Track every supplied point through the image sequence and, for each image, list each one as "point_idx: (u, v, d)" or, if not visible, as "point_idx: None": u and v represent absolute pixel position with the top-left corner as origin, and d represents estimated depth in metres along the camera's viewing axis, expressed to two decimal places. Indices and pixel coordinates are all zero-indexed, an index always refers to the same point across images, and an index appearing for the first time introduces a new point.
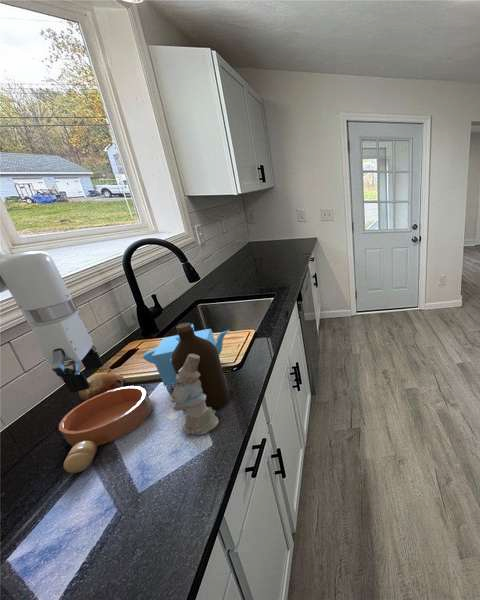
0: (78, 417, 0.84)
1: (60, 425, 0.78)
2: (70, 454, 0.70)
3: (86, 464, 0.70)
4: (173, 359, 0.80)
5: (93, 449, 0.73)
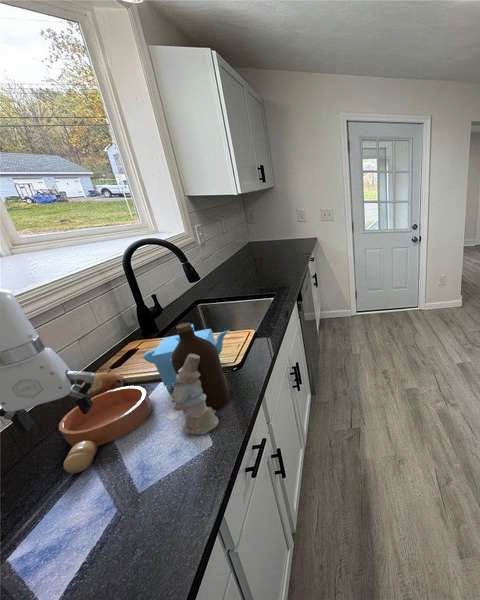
0: (78, 417, 0.84)
1: (60, 425, 0.78)
2: (70, 454, 0.70)
3: (86, 464, 0.70)
4: (173, 359, 0.80)
5: (93, 449, 0.73)
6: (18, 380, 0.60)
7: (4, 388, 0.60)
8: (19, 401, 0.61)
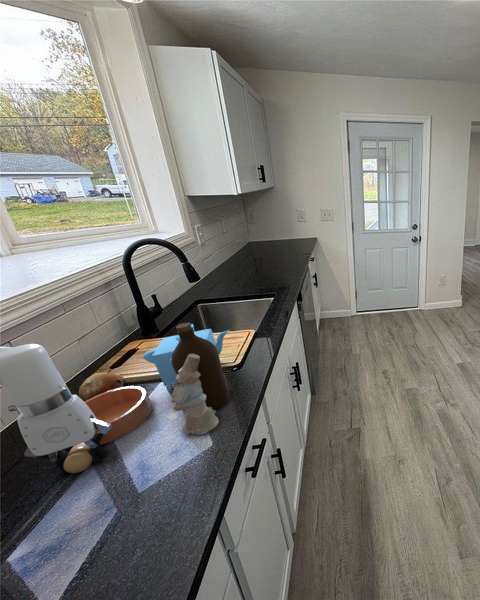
0: None
1: None
2: (70, 454, 0.70)
3: (86, 464, 0.70)
4: (173, 359, 0.80)
5: None
6: (48, 427, 0.65)
7: (35, 435, 0.64)
8: (48, 446, 0.66)
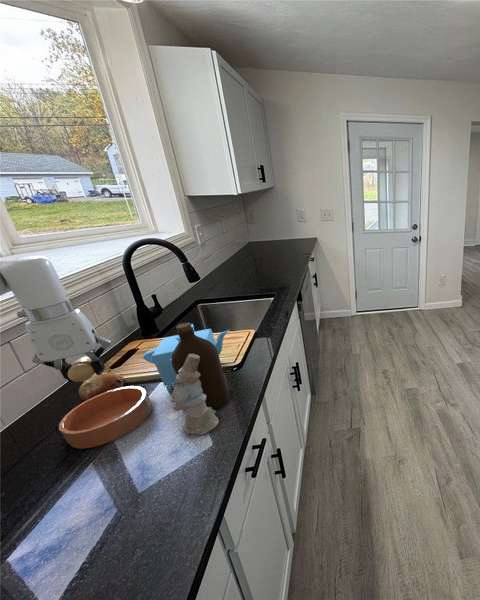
0: (78, 417, 0.84)
1: (60, 425, 0.78)
2: (73, 365, 0.76)
3: (88, 374, 0.76)
4: (173, 359, 0.80)
5: None
6: (53, 334, 0.71)
7: (42, 341, 0.71)
8: (53, 353, 0.72)
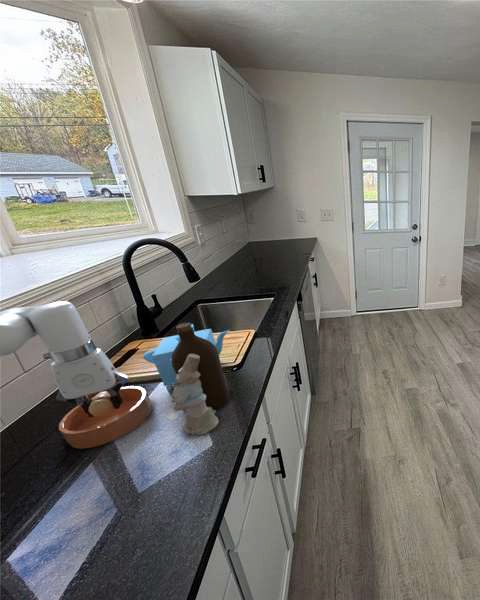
0: (78, 417, 0.84)
1: (60, 425, 0.78)
2: (94, 400, 0.81)
3: (108, 409, 0.81)
4: (173, 359, 0.80)
5: None
6: (76, 374, 0.76)
7: (65, 380, 0.75)
8: (76, 391, 0.77)
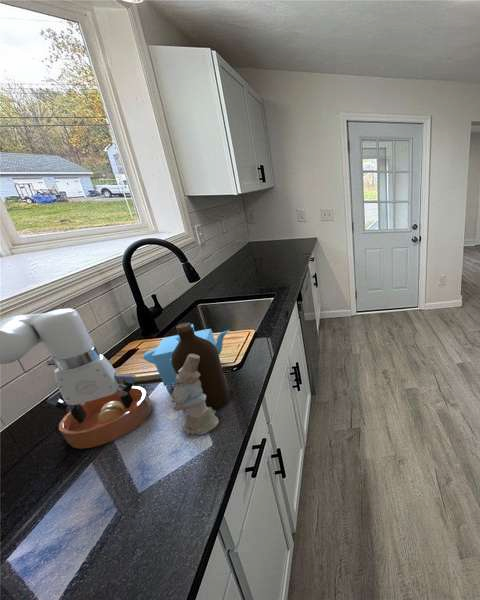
0: None
1: (60, 425, 0.78)
2: (104, 409, 0.82)
3: None
4: (173, 359, 0.80)
5: (122, 409, 0.86)
6: (79, 380, 0.76)
7: (69, 386, 0.76)
8: (79, 397, 0.77)
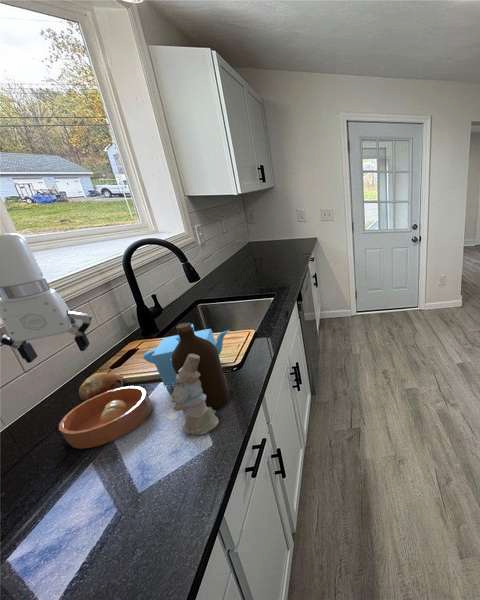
0: (78, 417, 0.84)
1: (60, 425, 0.78)
2: (110, 407, 0.83)
3: None
4: (173, 359, 0.80)
5: (125, 410, 0.86)
6: (26, 313, 0.70)
7: (13, 319, 0.69)
8: (26, 332, 0.71)
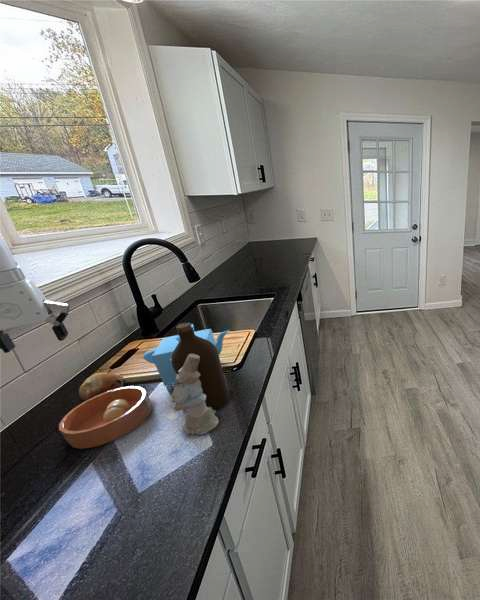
0: (78, 417, 0.84)
1: (60, 425, 0.78)
2: (116, 406, 0.83)
3: None
4: (173, 359, 0.80)
5: (127, 411, 0.86)
6: (0, 302, 0.70)
7: None
8: (1, 322, 0.71)
